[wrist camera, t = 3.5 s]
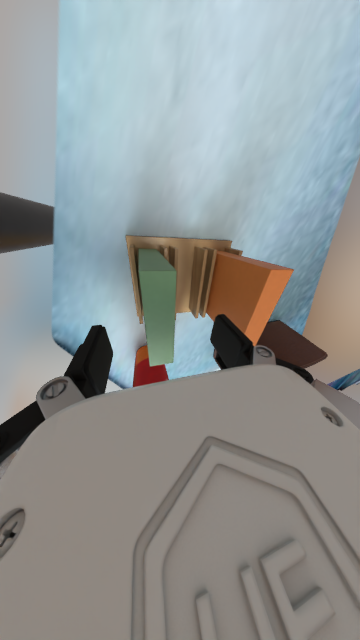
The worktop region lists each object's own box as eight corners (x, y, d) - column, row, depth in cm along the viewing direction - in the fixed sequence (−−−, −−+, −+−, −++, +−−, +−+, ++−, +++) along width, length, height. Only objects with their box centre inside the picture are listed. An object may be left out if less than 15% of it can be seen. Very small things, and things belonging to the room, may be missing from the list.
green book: (144, 309, 25) (149, 366, 14) (138, 248, 19) (138, 270, 9) (158, 307, 25) (173, 362, 15) (156, 248, 20) (176, 270, 9)
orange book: (199, 304, 27) (237, 351, 17) (207, 250, 22) (271, 269, 11) (211, 303, 28) (254, 348, 18) (222, 250, 22) (294, 269, 12)
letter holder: (217, 331, 34) (255, 380, 23) (279, 319, 38) (337, 356, 27) (212, 356, 40) (241, 406, 29) (267, 344, 44) (311, 383, 33)
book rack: (137, 313, 26) (137, 329, 22) (126, 235, 19) (122, 236, 15) (214, 307, 30) (225, 319, 26) (228, 240, 23) (248, 242, 19)
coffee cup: (156, 366, 36) (166, 434, 24) (126, 362, 32) (118, 440, 20) (171, 344, 33) (190, 410, 21) (139, 337, 29) (139, 412, 17)
